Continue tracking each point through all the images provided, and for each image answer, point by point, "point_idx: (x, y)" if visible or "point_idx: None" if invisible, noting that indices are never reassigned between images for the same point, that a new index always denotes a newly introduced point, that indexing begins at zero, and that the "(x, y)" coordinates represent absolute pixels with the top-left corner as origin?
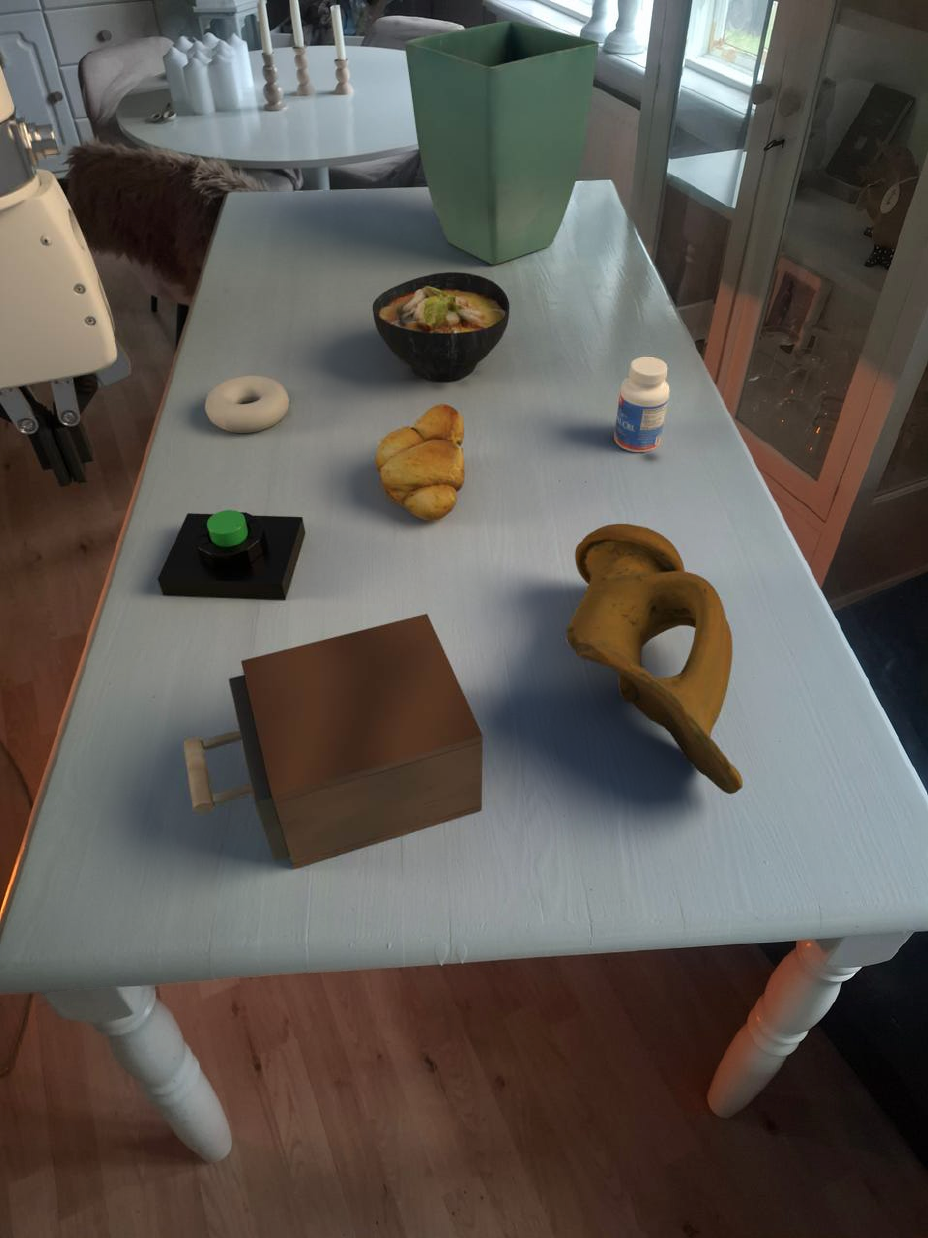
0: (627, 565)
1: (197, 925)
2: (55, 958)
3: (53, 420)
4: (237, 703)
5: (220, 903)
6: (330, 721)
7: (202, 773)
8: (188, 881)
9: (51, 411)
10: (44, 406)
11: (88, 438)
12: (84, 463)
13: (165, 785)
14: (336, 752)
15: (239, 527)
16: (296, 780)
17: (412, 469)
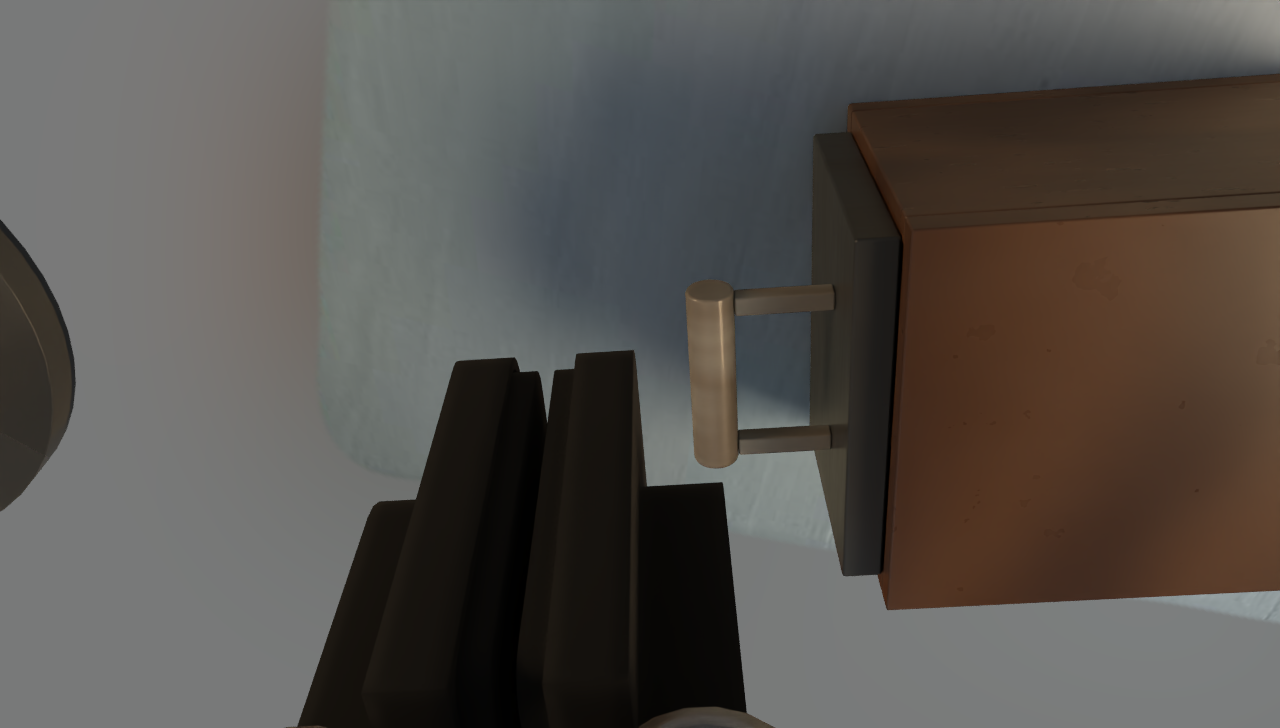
0: None
1: (651, 477)
2: (409, 472)
3: (511, 704)
4: (861, 330)
5: None
6: (1076, 479)
7: (727, 398)
8: (639, 401)
9: (490, 673)
10: (429, 701)
11: (726, 520)
12: (643, 469)
13: (597, 177)
14: (1055, 552)
15: None
16: (947, 592)
17: None
